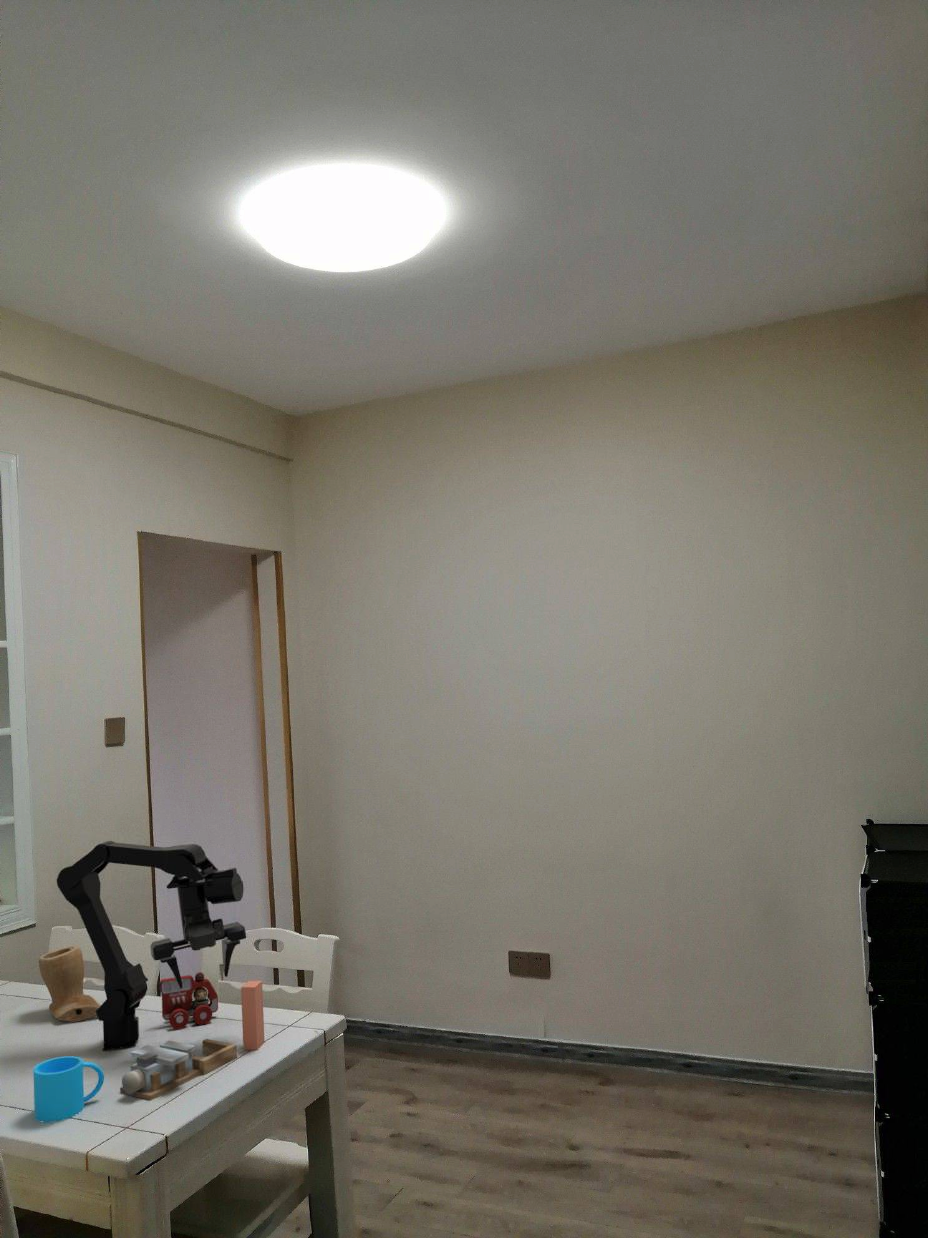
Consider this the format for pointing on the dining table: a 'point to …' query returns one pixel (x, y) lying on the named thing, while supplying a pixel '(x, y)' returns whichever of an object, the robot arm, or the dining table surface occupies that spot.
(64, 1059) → the mug
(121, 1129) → the dining table surface
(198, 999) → the toy fire truck
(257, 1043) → the salmon pink box
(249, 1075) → the dining table surface
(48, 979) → the tan hollow boot shape
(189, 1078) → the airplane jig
